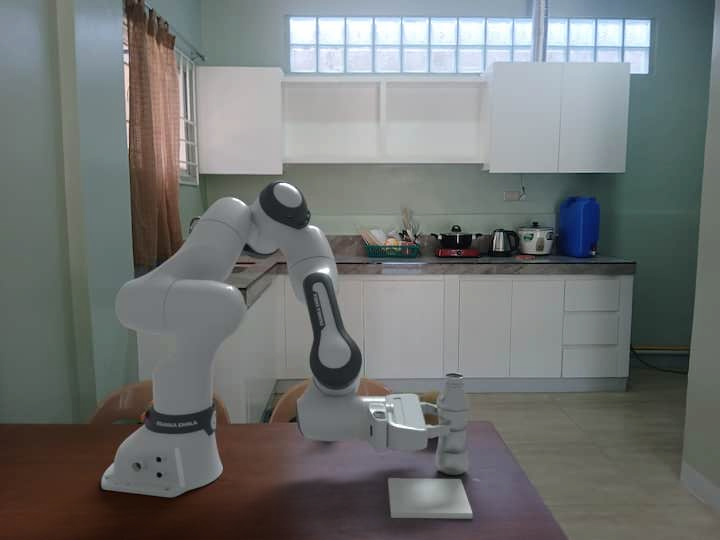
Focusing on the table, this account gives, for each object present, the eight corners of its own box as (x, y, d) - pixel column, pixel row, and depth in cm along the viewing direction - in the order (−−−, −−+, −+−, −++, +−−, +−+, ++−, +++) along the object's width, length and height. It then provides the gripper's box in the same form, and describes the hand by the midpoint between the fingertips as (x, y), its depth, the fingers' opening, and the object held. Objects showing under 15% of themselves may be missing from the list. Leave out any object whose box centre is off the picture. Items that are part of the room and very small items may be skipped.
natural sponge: (437, 422, 142) (438, 383, 141) (462, 435, 134) (463, 393, 133) (407, 430, 137) (408, 389, 136) (432, 444, 130) (433, 401, 128)
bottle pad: (391, 517, 100) (391, 512, 100) (388, 483, 112) (388, 478, 112) (472, 518, 100) (472, 513, 100) (460, 483, 112) (460, 479, 112)
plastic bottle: (471, 479, 114) (474, 381, 111) (436, 479, 114) (439, 380, 111) (465, 464, 120) (468, 370, 117) (432, 463, 120) (435, 370, 118)
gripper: (375, 413, 127) (438, 414, 127) (377, 456, 107) (453, 457, 107) (375, 385, 126) (439, 386, 126) (378, 424, 106) (454, 424, 106)
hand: (445, 419), depth 116 cm, fingers open, 8 cm apart
